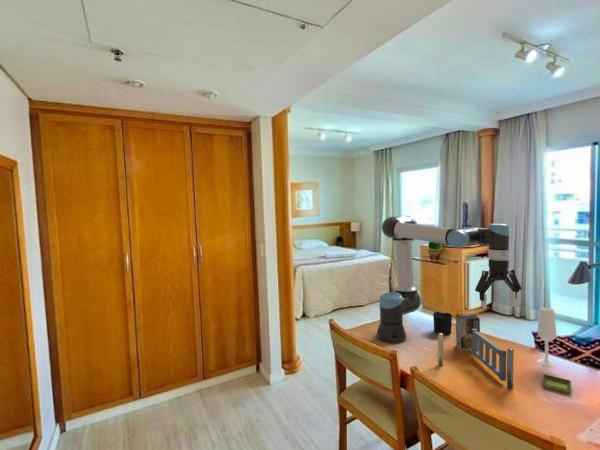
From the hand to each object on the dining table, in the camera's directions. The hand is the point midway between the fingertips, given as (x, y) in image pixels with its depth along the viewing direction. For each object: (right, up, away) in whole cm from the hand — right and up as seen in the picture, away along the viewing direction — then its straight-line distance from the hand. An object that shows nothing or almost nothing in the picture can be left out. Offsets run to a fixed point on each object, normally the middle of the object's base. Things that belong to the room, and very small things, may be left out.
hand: (498, 306), depth 143 cm
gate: (-8, -24, -5) cm, 26 cm away
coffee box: (-5, -24, +16) cm, 30 cm away
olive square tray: (+11, -26, -18) cm, 34 cm away
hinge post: (-7, -26, -19) cm, 33 cm away
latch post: (-25, -26, 0) cm, 36 cm away
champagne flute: (+21, -25, -1) cm, 32 cm away
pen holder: (-9, -23, +36) cm, 44 cm away
